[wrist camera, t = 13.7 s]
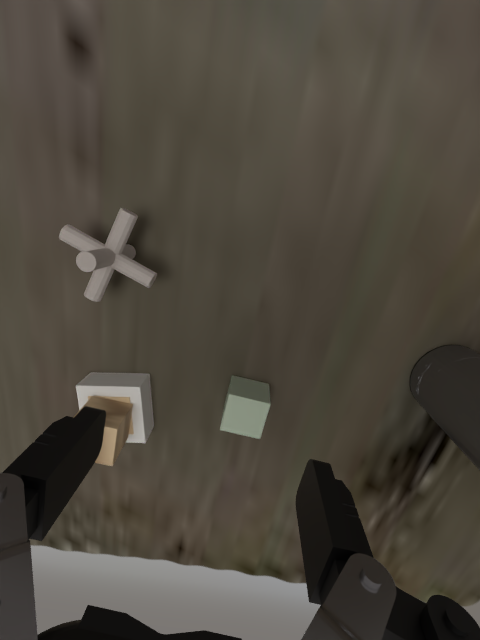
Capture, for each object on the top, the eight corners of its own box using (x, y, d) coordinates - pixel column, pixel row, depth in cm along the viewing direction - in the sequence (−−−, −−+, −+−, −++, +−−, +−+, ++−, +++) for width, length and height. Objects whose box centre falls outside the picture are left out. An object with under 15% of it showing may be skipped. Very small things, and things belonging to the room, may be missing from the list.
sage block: (268, 383, 43) (270, 403, 38) (259, 415, 44) (259, 439, 39) (231, 374, 43) (228, 394, 38) (223, 407, 44) (219, 429, 39)
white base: (150, 372, 43) (139, 387, 39) (154, 424, 46) (144, 444, 42) (91, 371, 44) (74, 386, 40) (98, 422, 46) (83, 442, 42)
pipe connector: (148, 307, 40) (115, 334, 31) (74, 267, 39) (16, 282, 30) (184, 235, 38) (160, 240, 28) (106, 190, 37) (53, 179, 27)
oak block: (132, 404, 40) (117, 429, 35) (128, 437, 41) (112, 466, 37) (92, 395, 40) (71, 419, 35) (88, 429, 41) (68, 457, 36)
